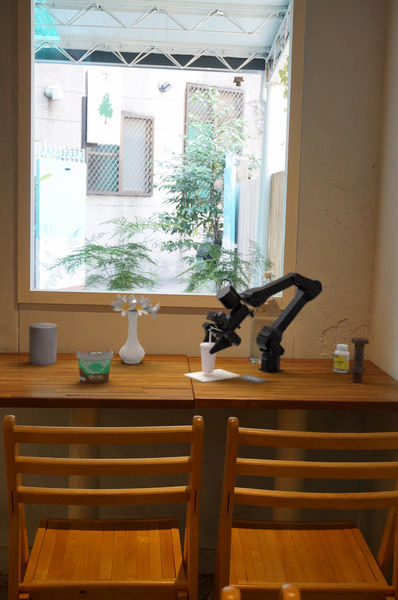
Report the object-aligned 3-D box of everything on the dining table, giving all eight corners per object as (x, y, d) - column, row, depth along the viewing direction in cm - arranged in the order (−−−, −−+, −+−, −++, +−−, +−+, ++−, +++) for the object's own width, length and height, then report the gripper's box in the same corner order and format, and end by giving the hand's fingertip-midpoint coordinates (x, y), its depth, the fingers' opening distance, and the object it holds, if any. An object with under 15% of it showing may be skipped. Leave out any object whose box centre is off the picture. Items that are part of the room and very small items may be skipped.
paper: (219, 369, 235) (219, 368, 235) (240, 376, 227) (240, 375, 226) (183, 375, 225) (183, 374, 225) (203, 382, 217) (203, 381, 217)
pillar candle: (22, 362, 235) (23, 321, 233) (43, 358, 243) (44, 318, 241) (41, 367, 230) (42, 324, 228) (62, 362, 238) (63, 321, 236)
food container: (81, 386, 206) (81, 354, 205) (75, 381, 212) (76, 351, 211) (118, 382, 212) (119, 352, 211) (111, 378, 217) (112, 348, 216)
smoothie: (219, 371, 227) (222, 331, 225) (211, 375, 222) (214, 334, 219) (203, 368, 230) (205, 329, 228) (195, 372, 224) (197, 332, 222)
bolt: (366, 380, 227) (369, 338, 225) (365, 384, 222) (368, 340, 221) (349, 378, 229) (352, 336, 227) (347, 382, 224) (350, 338, 222)
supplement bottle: (330, 370, 240) (331, 344, 239) (339, 369, 244) (341, 343, 243) (342, 373, 236) (344, 347, 235) (351, 371, 240) (353, 345, 239)
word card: (248, 376, 227) (248, 374, 227) (266, 380, 222) (267, 379, 222) (239, 378, 224) (239, 377, 224) (258, 383, 218) (258, 381, 218)
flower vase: (159, 366, 237) (161, 297, 234) (107, 365, 236) (108, 296, 232) (158, 358, 250) (160, 293, 247) (109, 357, 248) (111, 291, 245)
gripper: (207, 299, 232) (178, 331, 229) (235, 306, 216) (204, 341, 212) (226, 320, 237) (197, 352, 233) (254, 328, 221) (224, 363, 217)
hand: (205, 351), depth 224 cm, fingers closed on smoothie, 6 cm apart
